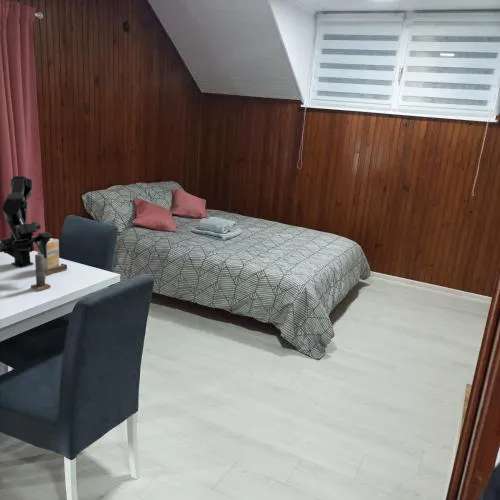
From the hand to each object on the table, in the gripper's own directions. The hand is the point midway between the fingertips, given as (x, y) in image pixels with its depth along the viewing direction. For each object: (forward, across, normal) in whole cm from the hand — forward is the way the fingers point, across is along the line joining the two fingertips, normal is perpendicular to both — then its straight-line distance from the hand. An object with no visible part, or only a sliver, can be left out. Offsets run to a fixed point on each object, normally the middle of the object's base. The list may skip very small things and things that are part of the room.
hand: (34, 260), depth 179 cm
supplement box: (-2, +13, +16) cm, 21 cm away
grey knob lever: (+5, +8, +9) cm, 13 cm away
